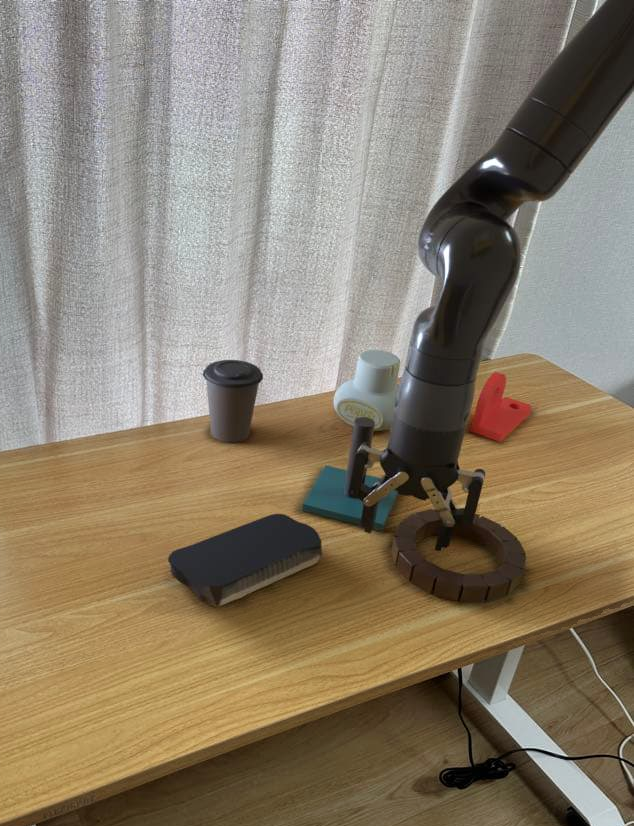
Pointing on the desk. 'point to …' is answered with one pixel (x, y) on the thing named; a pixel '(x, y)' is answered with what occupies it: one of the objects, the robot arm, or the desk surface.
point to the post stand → (347, 486)
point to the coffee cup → (231, 398)
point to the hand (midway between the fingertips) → (403, 538)
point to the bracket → (497, 410)
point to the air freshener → (370, 390)
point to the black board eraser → (246, 558)
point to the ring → (454, 582)
